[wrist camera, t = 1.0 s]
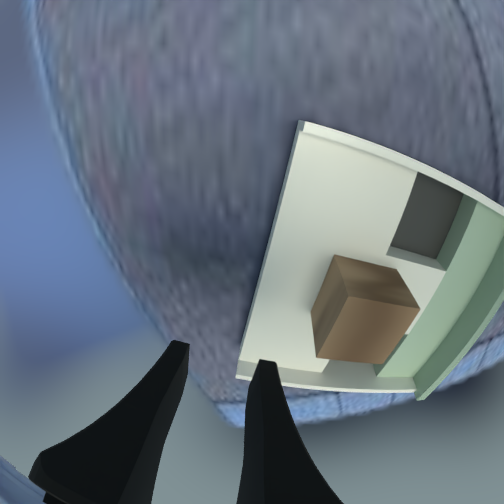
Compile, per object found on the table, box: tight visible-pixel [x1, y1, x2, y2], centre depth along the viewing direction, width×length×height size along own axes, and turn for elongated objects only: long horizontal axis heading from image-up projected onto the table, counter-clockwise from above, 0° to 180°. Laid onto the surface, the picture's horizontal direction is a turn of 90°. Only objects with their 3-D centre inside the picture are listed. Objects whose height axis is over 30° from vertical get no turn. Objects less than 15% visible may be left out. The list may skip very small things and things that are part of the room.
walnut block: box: [310, 254, 420, 364], centre depth 15 cm, size 4×4×4 cm
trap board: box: [236, 120, 504, 400], centre depth 17 cm, size 18×18×4 cm
